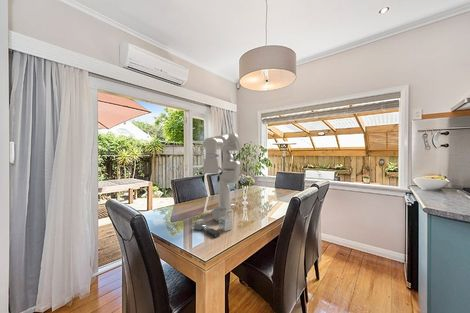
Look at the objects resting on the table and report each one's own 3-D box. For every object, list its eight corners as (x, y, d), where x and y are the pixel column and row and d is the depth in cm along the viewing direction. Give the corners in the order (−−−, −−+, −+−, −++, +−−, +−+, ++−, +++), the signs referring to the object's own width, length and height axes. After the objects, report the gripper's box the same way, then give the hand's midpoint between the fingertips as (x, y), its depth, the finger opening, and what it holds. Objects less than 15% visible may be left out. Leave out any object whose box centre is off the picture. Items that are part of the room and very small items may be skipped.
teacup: (223, 223, 137) (223, 211, 136) (209, 221, 140) (209, 210, 140) (231, 217, 150) (231, 206, 149) (217, 215, 153) (217, 205, 153)
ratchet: (222, 235, 118) (222, 225, 118) (211, 239, 112) (211, 229, 112) (202, 225, 133) (202, 217, 133) (191, 228, 128) (191, 219, 128)
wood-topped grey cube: (225, 226, 131) (225, 215, 131) (232, 229, 127) (232, 217, 127) (218, 228, 127) (218, 217, 127) (224, 231, 123) (224, 220, 123)
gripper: (224, 156, 141) (223, 181, 141) (198, 156, 141) (198, 181, 140) (223, 156, 134) (223, 182, 133) (197, 156, 133) (196, 182, 133)
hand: (210, 181), depth 137 cm, fingers open, 9 cm apart
